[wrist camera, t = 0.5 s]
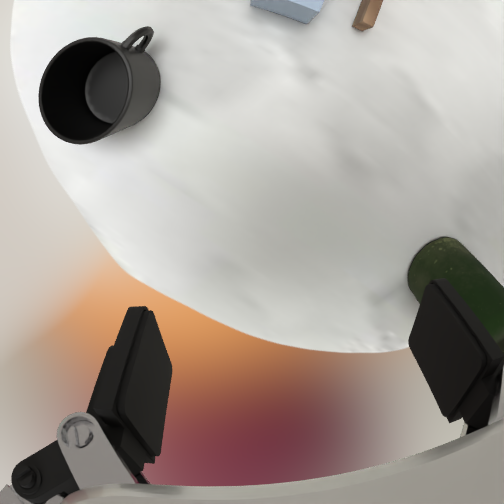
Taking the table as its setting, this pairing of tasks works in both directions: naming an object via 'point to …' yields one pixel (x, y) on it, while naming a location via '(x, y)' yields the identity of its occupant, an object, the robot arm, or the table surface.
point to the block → (291, 8)
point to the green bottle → (461, 282)
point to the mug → (98, 87)
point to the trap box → (367, 14)
